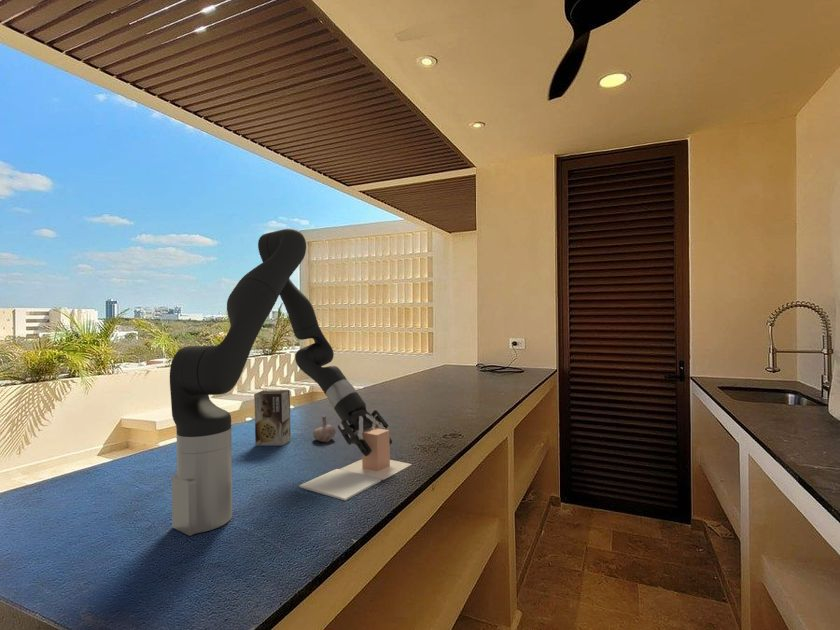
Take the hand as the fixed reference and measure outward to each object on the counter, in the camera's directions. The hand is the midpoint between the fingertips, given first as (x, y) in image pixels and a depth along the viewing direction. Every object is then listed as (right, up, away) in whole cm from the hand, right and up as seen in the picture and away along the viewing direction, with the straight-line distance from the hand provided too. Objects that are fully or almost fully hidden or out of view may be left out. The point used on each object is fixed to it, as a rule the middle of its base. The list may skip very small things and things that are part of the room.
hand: (379, 449), depth 105 cm
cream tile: (-1, -5, +1) cm, 5 cm away
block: (-1, -5, +1) cm, 5 cm away
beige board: (-8, -5, -10) cm, 14 cm away
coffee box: (-36, -6, +24) cm, 44 cm away
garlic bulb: (-20, -6, +26) cm, 33 cm away
